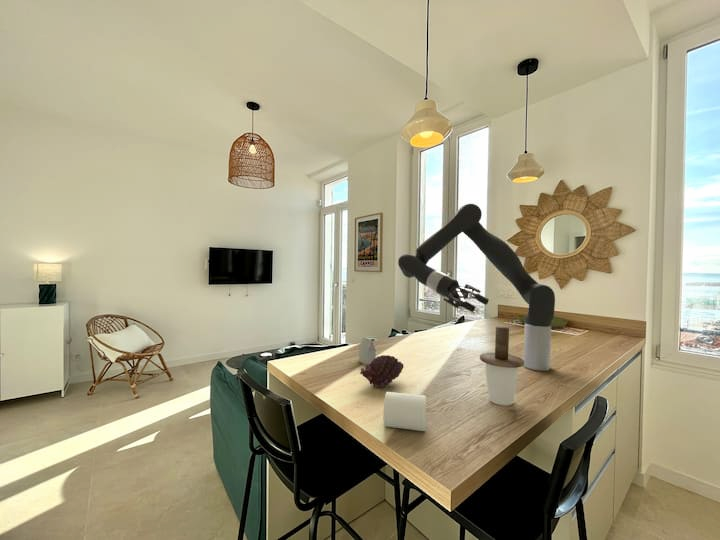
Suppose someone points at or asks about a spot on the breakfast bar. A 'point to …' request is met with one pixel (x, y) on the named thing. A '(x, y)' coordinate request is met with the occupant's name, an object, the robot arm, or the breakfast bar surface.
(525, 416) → the breakfast bar surface
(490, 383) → the cup
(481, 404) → the breakfast bar surface
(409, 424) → the white rounded block
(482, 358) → the lid
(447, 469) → the breakfast bar surface
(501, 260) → the robot arm
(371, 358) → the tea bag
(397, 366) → the pine cone
